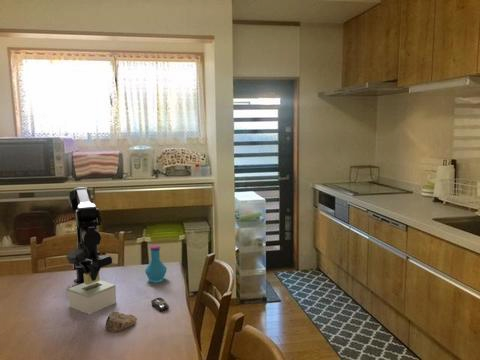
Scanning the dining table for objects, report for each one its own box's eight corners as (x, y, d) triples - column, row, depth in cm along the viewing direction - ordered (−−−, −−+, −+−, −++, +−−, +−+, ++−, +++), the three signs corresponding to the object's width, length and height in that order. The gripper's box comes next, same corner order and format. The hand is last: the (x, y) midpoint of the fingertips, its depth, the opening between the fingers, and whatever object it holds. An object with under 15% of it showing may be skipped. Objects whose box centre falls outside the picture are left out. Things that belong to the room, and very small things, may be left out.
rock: (105, 336, 128) (136, 326, 131) (101, 318, 129) (132, 308, 131) (108, 329, 137) (137, 320, 139) (104, 312, 137) (133, 303, 140)
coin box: (69, 306, 149) (68, 288, 148) (96, 295, 159) (95, 278, 158) (89, 314, 143) (87, 295, 142) (116, 302, 153) (115, 284, 152)
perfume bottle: (169, 275, 179) (168, 243, 178) (163, 283, 170) (162, 249, 168) (149, 275, 180) (148, 243, 178) (142, 283, 171) (141, 249, 169)
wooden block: (84, 283, 149) (83, 273, 148) (95, 279, 153) (94, 269, 152) (88, 285, 147) (87, 274, 147) (99, 280, 151) (99, 270, 151)
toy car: (160, 313, 144) (160, 292, 143) (145, 302, 153) (144, 282, 152) (170, 309, 146) (169, 289, 145) (154, 299, 155) (153, 280, 154)
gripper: (54, 241, 146) (57, 281, 148) (85, 249, 136) (88, 292, 138) (81, 234, 155) (83, 272, 158) (112, 241, 145) (114, 282, 147)
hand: (91, 279), depth 150 cm, fingers closed on wooden block, 2 cm apart
